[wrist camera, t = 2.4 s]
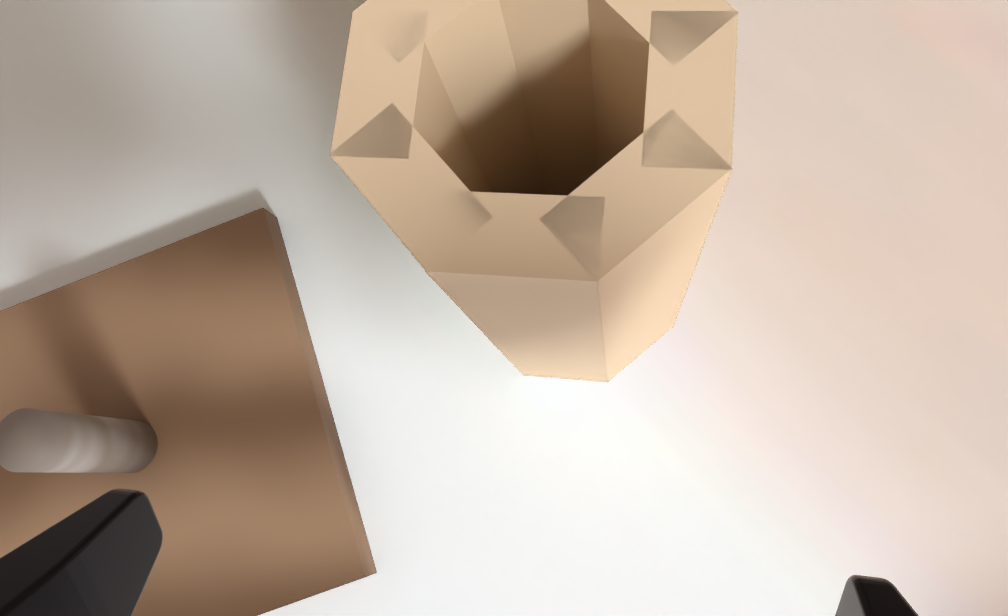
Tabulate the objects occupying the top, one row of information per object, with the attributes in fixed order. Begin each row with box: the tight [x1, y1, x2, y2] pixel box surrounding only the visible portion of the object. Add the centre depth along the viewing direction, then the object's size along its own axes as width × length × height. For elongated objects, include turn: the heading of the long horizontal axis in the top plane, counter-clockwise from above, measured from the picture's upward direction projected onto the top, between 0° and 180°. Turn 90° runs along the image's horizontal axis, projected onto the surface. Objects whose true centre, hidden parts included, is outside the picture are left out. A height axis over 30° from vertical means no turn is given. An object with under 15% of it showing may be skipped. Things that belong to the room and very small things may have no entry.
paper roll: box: [330, 0, 739, 382], centre depth 17 cm, size 6×6×12 cm
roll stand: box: [0, 208, 377, 616], centre depth 21 cm, size 12×12×6 cm
